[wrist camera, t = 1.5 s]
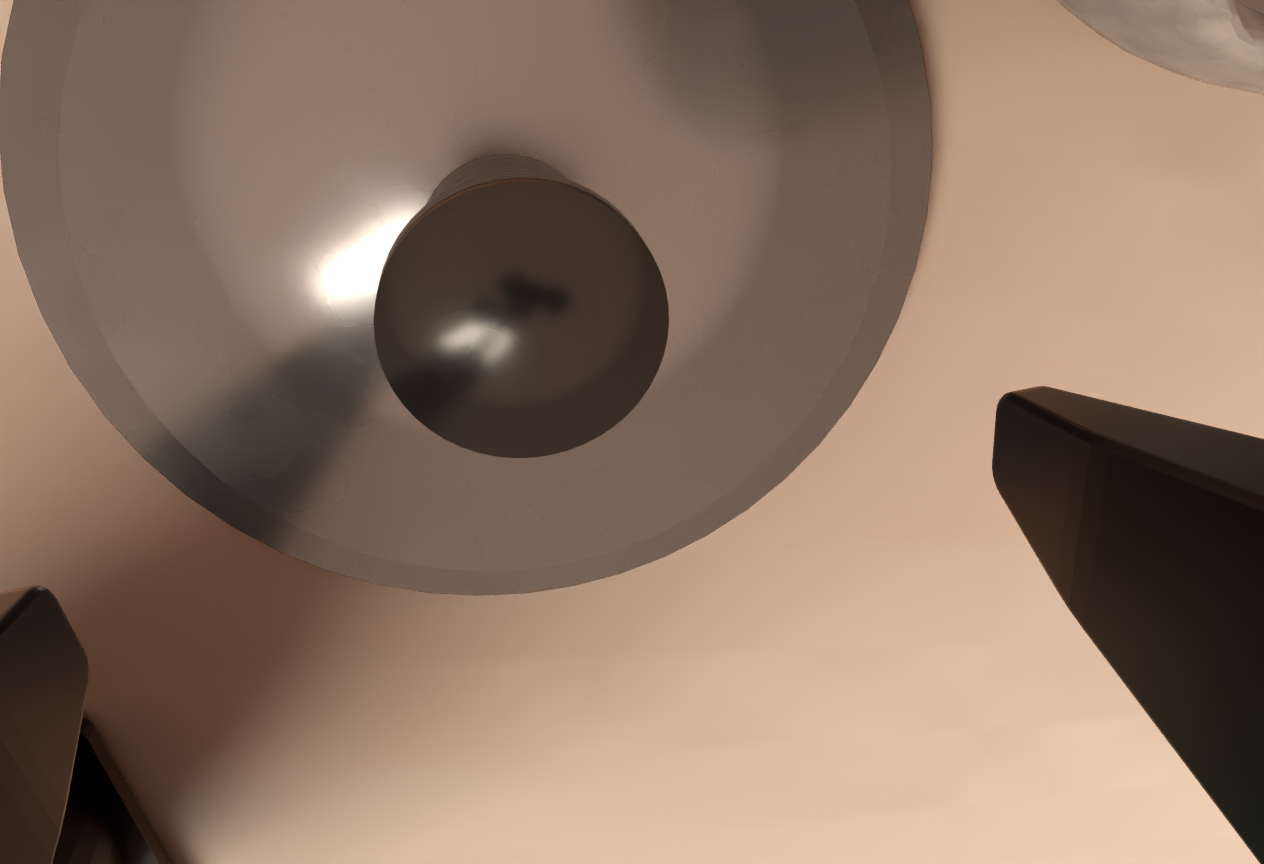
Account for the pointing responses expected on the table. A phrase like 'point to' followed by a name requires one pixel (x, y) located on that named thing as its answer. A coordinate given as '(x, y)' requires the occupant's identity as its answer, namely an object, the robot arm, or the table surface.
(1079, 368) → the table surface
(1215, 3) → the dish
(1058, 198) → the table surface
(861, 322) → the lid
